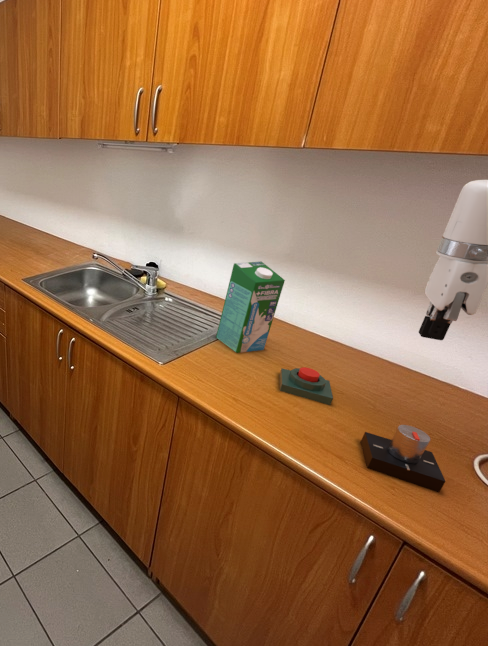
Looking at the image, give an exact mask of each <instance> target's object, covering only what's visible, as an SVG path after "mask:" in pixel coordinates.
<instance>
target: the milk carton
mask: <svg viewBox="0 0 488 646" xmlns="http://www.w3.org/2000/svg"><path fill="white" fill-rule="evenodd" d="M285 281H286V279H284V278H283V277H282V276H280V275H279V274H278V273H277V272H275V271H274V270H273V269H272V268H271V267H269V266H268V265H267V264H265V262H263V261H249V262H237V263H235V262H234V263H233V266H232V269H231V274H230V278H229V282H228V286H227V291H226V295H225V298H224V302H223V307H222V311H221V315H220V320H219V323H218V327H217V331H216V335H215V338H216V339H218V340H219V341H220V342H222V343H223V344H224V345H225V346H227V347H228V348H229V349H230V350H231V351H234V352H235V353H236V354H239V353H248V352H258V351H264V350H265V347H266V344H267V340H268V338H269V334H270V331H271V328H272V324H273V321H274V317H275V314H276V311H277V308H278V304H279V301H280V298H281V295H282V292H283V288H284V285H285Z"/></svg>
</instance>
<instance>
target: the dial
mask: <svg viewBox="0 0 488 646" xmlns="http://www.w3.org/2000/svg"><path fill="white" fill-rule="evenodd" d="M430 442H431V437H430V435H429V434H428V433H426V432H425V431H423V430H422V429H420V428H417V427H415V426H412V425H408V424H400V425H398V426H397V428H396V429H395V432H394V433H393V436H392V438H391V442H390V444H389V446H388V448H387V449H388V451H389V453H390V454H391V455H393V456H394V457H396V458H397V459H399V460H401V461H404V462H407V463H412V464H415V463H418V462H419V460H420V458H421V456H422V454H423V453H424V451H425V450H427V447H428V445H429V444H430Z"/></svg>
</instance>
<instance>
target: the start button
mask: <svg viewBox="0 0 488 646" xmlns="http://www.w3.org/2000/svg"><path fill="white" fill-rule="evenodd" d="M299 368H300V370H299V373H298V376H299V377H300V378H302V379H304V380H306V381H309V382H317V381H318V379H319V376H320V375H321V374H320V372H319V371H317V370H316V369H313V368H311V367H307V366H306V367H303V366H302V367H299Z"/></svg>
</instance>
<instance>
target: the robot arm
mask: <svg viewBox="0 0 488 646" xmlns="http://www.w3.org/2000/svg"><path fill="white" fill-rule="evenodd" d="M435 254H436V256H439V257H438V259H437V261H436V263H435V265H434V267H433V269H432V271H431V273H430V275H429V277H428V280H427V283H426V286H425V289H424V294H425V296H426V298H427V299H428V300H429V303H428V307H427V310H426V313H425V315H424V318H423V320H422V322H421V325H420V327H419V330H418V334H419V336H420V337H422V338H426V339H431V340H435V341H436V340H437V341H443V340H445V337H446V336H447V333H448V331H449V328H450V327H451V324H452V323H453V322H457V321H458V319H459V316H460V313H461V310H462V311H463V312H464V313H465V314H467V315H468V316H473V315H475V314H477V312H478V309H479V307H480V305H481V302H482V300H483V298H484V294H485V292H486V289H487V286H488V179H476V180H471V181H469V182H467V183H466V184H464V185H463V187H462V188H461V190H460V192H459V195H458V198H457V199H456V202H455V204H454V207H453V210H452V211H451V215H450V217H449V220H448V222H447V224H446V227H445V229H444V232H443V233H442V236H441V238H440V241H439V244H438V246H437V249H436V252H435Z"/></svg>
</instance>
